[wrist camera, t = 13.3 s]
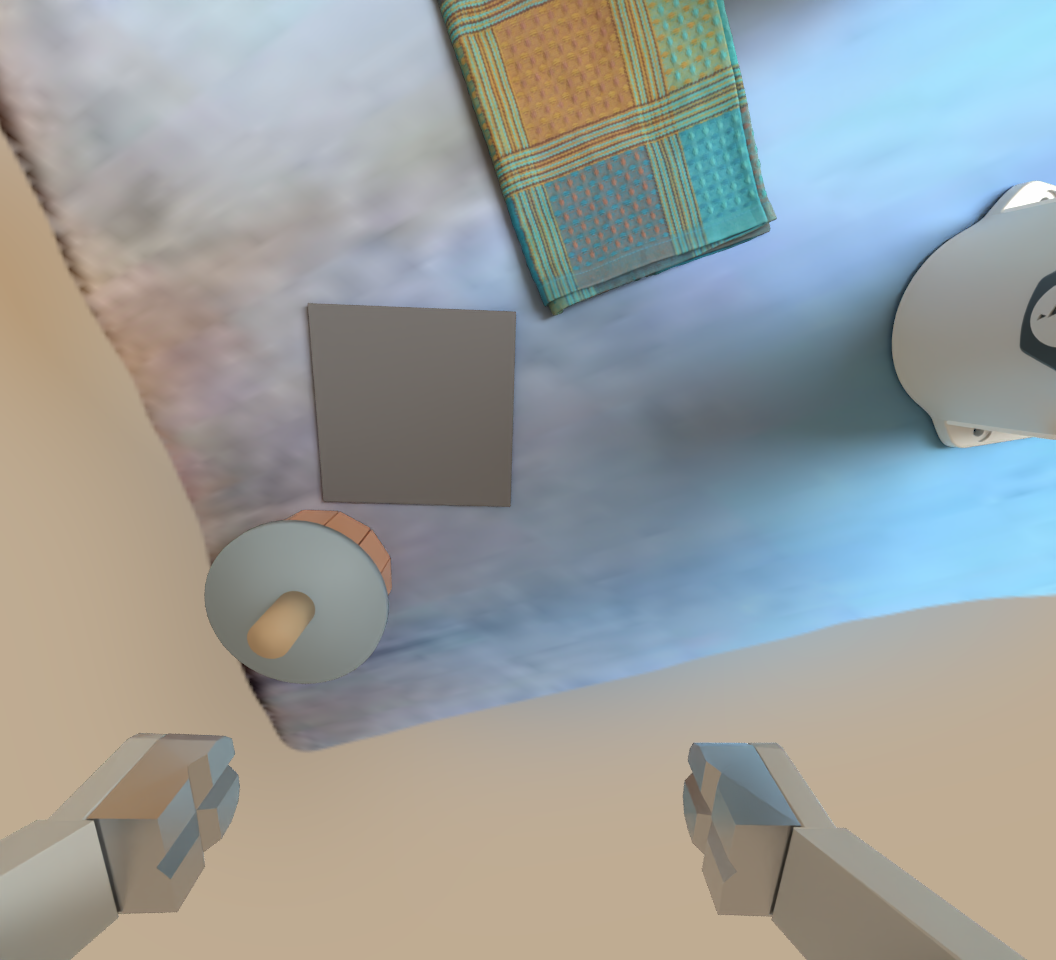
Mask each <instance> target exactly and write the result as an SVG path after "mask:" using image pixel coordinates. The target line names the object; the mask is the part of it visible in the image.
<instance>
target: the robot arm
mask: <svg viewBox="0 0 1056 960" xmlns="http://www.w3.org/2000/svg"><path fill="white" fill-rule="evenodd" d="M892 355H893V362H894V366H895V370H896V373H897V376H898V378H899V380H900V382H901V384H902V386H903V388H904V389H905V391H906V392H907V393H908V395H909V396H910V397H911V398H912V399H913V400H914V401H915V402H916V403H917V404H918V405H920V406H921V407H922V408H923V409H924V410H925V411H926V412H927V413H928V414H929V415H930V416H931V418H932V420H933V423H934V426H935V429H936V431H937V434H938V436H939V438H940V440H941V441H942V442H943V443H944V444H945V445H946V446H949V447H958V448H967V447H973V446H979V445H986V444H992V443H998V442H1005V441H1011V440H1017V439H1024V438H1030V437H1037V438H1044V439H1052V440H1056V186H1055V185H1051V184H1048V183H1045V182H1041V181H1030V182H1025V183H1021V184H1017V185H1015V186H1013V187H1012V188H1011V189H1009V190H1008V191H1007V192H1006V193H1005V194H1004V195H1003V196H1002V197H1001V198H1000V199H999V200H998V201H997V202H996V204H995V205H994V206H993V207H992V208H991V209H990V211H989V212H988V213H987V214H986V215H985V217H984V218H982V219H981V220H980V221H979V222H977V223H976V224H974V225H973V226H971V227H969V228H968V229H966V230H964V231H962V232H961V233H959V234H957V235H956V236H954V237H953V238H951V239H950V240H948V241H947V242H946V243H944V244H943V245H942V246H941V247H940V248H938V249H937V250H936V251H935V252H934V253H933V254H932V255H931V256H930V257H929V258H928V259H927V260H926V261H925V262H924V264H923V265H922V266H921V267H920V269H919V270H918V271H917V273H916V274H915V275H914V277H913V278H912V280H911V282H910V283H909V285H908V287H907V289H906V291H905V293H904V295H903V297H902V299H901V302H900V304H899V307H898V310H897V313H896V317H895V321H894V326H893V333H892ZM975 428H976V430H975V432H974V433H973V431H974V429H975ZM234 755H235V751H234V746H233V741H232V738H229V737H226V736H212V735H189V734H188V735H187V734H150V733H139V734H137V735H134V736H132V737H130V738H128V739H127V740H126V741H125V742H124V743H123V744H122V745H121V746H120V747H119V748H118V749H117V750H116V751H115V752H114V754H112V755H111V756H110V757H109V759H107V760H106V761H105V763H103V764H102V765H101V766H100V767H99V768H98V769H97V770H96V772H94V773H93V774H92V775H91V777H89V779H87V780H86V781H85V782H84V783H83V784H82V786H80V787H79V788H78V790H77V791H75V793H74V794H73V795H72V796H71V797H70V798H69V799H68V800H67V801H66V802H65V803H64V804H63V805H62V806H61V807H60V808H59V809H58V810H57V811H56V812H55V813H54V814H53V815H52V816H51V817H50V818H49V819H48V820H36V821H34V822H32V823H30V824H29V825H27V826H25V827H23V828H21V829H20V830H18V831H16V832H14V833H13V834H11V835H9V836H7V837H6V838H3V839H1V840H0V960H70V959H71V958H73V957H74V956H75V955H76V954H77V953H78V952H80V951H81V950H82V949H83V948H84V947H85V946H86V945H87V944H88V943H90V942H91V941H92V940H93V939H94V938H95V937H97V936H98V935H99V934H100V933H101V932H102V931H104V930H105V929H106V928H107V927H108V926H109V925H110V924H112V923H113V922H114V921H115V920H116V919H117V918H118V914H128V913H129V914H130V913H163V912H164V913H165V912H177V911H178V910H179V909H180V907H181V905H182V904H183V902H184V900H185V899H186V897H187V895H188V894H189V892H190V890H191V888H192V887H193V885H194V884H195V882H196V880H197V879H198V877H199V875H200V874H201V872H202V871H203V869H204V867H205V862H204V851H206V850H207V849H209V848H210V847H211V846H212V845H214V844H215V843H216V842H218V841H219V840H220V839H222V837H223V835H224V834H225V832H226V830H227V828H228V827H229V825H230V823H231V821H232V819H233V816H234V813H235V810H236V807H237V804H238V799H239V788H240V784H239V777H238V774H237V773H236V772H235V771H234V770H233V769H232V768H231V767H230V766H229V765H228V764H229V762H230V761H231V759H232V758H233V756H234ZM688 762H689V765H690V767H691V770H692V772H693V773H692V774H691V775H690V776H689V777H688V778H687V779H686V780H685V782H684V791H683V805H684V815H685V820H686V824H687V828H688V831H689V834H690V837H691V840H692V843H693V844H694V845H695V846H696V847H697V848H698V849H699V850H700V851H701V852H702V853H703V854H704V855H705V856H704V861H703V868H702V872H703V874H704V877H705V880H706V883H707V886H708V888H709V891H710V894H711V897H712V899H713V902H714V905H715V908H716V911H717V913H718V915H744V916H771V917H772V921H773V922H774V923H775V924H776V925H777V926H778V928H779V929H780V930H781V931H782V932H783V933H784V935H785V936H786V937H787V938H788V939H789V940H790V941H791V943H792V944H793V945H794V946H795V947H796V948H797V949H798V950H799V952H800V953H801V954H802V955H803V956H804V957H805V958H806V959H807V960H1027V959H1025V958H1024V957H1023V956H1021V955H1020V954H1018V953H1017V952H1016V951H1014V950H1013V949H1011V948H1010V947H1009V946H1007V945H1006V944H1005V943H1003V942H1002V941H1000V940H999V939H998V938H996V937H995V936H994V935H992V934H991V933H989V932H988V931H987V930H985V929H984V928H983V927H981V926H980V925H978V924H977V923H975V922H974V921H973V920H972V919H970V918H969V917H967V916H966V915H965V914H963V913H962V912H960V911H959V910H958V909H956V908H955V907H954V906H952V905H951V904H949V903H948V902H946V901H945V900H944V899H943V898H941V897H940V896H938V895H937V894H936V893H934V892H933V891H931V890H930V889H929V888H927V887H926V886H925V885H923V884H922V883H920V882H919V881H918V880H916V879H915V878H913V877H912V876H911V875H909V874H908V873H907V872H905V871H904V870H903V869H901V868H900V867H898V866H897V865H896V864H894V863H893V862H891V861H890V860H889V859H887V858H886V857H885V856H883V855H882V854H881V853H879V852H878V851H876V850H875V849H874V848H872V847H871V846H870V845H868V844H867V843H865V842H864V841H863V840H861V839H860V838H858V837H857V836H856V835H854V834H853V833H852V832H850V831H849V830H847V829H846V828H836V827H835V825H834V824H833V822H832V821H831V819H830V818H829V816H828V815H827V813H826V812H825V810H824V809H823V807H822V806H821V804H820V803H819V801H818V800H817V798H816V797H815V795H814V794H813V792H812V791H811V789H810V788H809V786H808V785H807V783H806V782H805V780H804V779H803V777H802V776H801V774H800V773H799V771H798V770H797V768H796V767H795V765H794V764H793V762H792V761H791V759H790V758H789V756H788V755H787V753H786V752H785V750H784V749H783V748H782V747H781V746H780V745H779V744H777V743H748V744H747V743H693V744H692V746H691V748H690V750H689V756H688Z"/></svg>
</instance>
